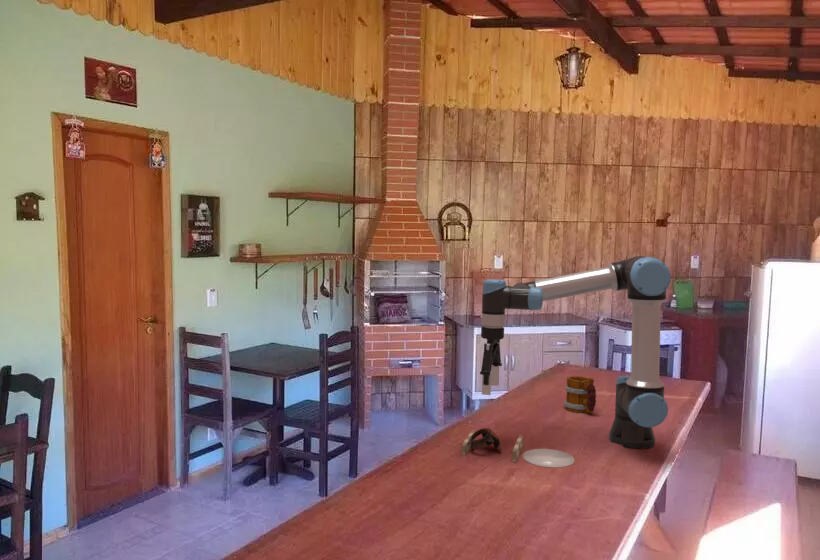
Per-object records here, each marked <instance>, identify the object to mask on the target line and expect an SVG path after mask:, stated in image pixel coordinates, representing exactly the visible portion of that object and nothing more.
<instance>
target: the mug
mask: <svg viewBox="0 0 820 560" xmlns="http://www.w3.org/2000/svg"><path fill="white" fill-rule="evenodd" d="M594 381H595V380H594V377H586V376H585V377H584V376H580V375H579V376H578V375H575V376H574V375H573V376H567V377H566V386H565V388H564V389H565V391H566V397H565V398H566V399H565V400H564V402H563V405H564V407H565V408H564V409H565V411H569V412H571V413H577V414H586V413H587V414H590V415H591V414H592V413H593V411H594V409H595V407H596V404H597V391H596V387H595V385H594Z"/></svg>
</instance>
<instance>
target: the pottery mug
mask: <svg viewBox="0 0 820 560" xmlns="http://www.w3.org/2000/svg"><path fill="white" fill-rule="evenodd" d="M480 435H481V438H480V439H476V438H477V437H478V436H480ZM471 437H472V438H471V439H470V441H471V447H470V449H471V451H474V449H480V448H483V447H484V448H487V445H488V446H491V445H493V449H498V451H499V453H500V454H501V453H502V450H503V449H502V446H501V441H500V439H499V437H498V435H497V434H496V433H494V432H493V431H492V429H490V428H489V427H483V428H480V429H478V430H475V433H473V434H472V436H471ZM474 439H475V440H474Z"/></svg>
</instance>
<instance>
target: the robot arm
mask: <svg viewBox="0 0 820 560" xmlns="http://www.w3.org/2000/svg"><path fill="white" fill-rule="evenodd" d="M671 279H672V273H671V271H670V268H669V267H668V265H667V264H666V263H665V262H663V261H661V260H660V259H658V258H656V257H652V256H644V255H643V256H642V255H637V256H633V257H629V258H627V259H623V260H620V261H615V262H611V263H608V265H607V266H606V267H601V268H600V267H599V268H595V269H590V270H586V271H580V272H574V273H573V272H572V273H569V274H564V275H558V276H553V277H548V278H542V279H538V280H534V281H533V280H532V281H527V282H518V283H515V284H514V285H513V286H510V285H507V282H506V280H505V279H498V278H494V279H492V278H489V279H485V280H484V281H483V283H482V284H483V285H482V293H481V294H482V298H481V299H482V300H481V301H482V302H481V315H480V316H479V318H480V319H481V325H482V327H481V329H480V336H481V338H482V339H483V340H484V339H486V343H483V355H482V362H481V363H482V364H481V370H480V371H479V375H482V376H481V377H482V378H481V395H486V396H491V393H492V392H491V389H492V388H491V387H492V386H496V387H497V386H499V385H500V367H502V365H503V363H502V360H501V347H500V346H501V344H500V342H501V340H503V339H504V338H505V328H504V326H505V325H506V324H505V321H506V309H507V310H523V311H524V310H528V311H538V310H539V311H540V310H541V309H542V307H543V302H546V301H551V300H557V299H563V298H568V297H573V296H579V295H584V294H585V295H586V294H590V293H596V292H602V291H607V290H612V291H615V292H617V291H618V292H619V291H621V290H622V291H623V290H624V291H625V290H626V291H627V300H628V301H629V302H630V303H631V350H630V351H631V352H630V353H631V359H630V360H631V361H630V364H631V365H630V375H619V376H617V378H616V382H615V405H614V407H615V408H614V409H615V410H614V419H613V423H612V425H611V427H610V430H609V431H608V432H609V433H608V439H609V441H610V443H614V444H617V445H620V446H622V447H624V448H629V449H630V448H631V449H638V450H640V449H649V448H650V449H651V448H653V447H655V445H656V436H655V433H654V429H653V428H654V427H657V426H659V425H661V424H662V423H663V422H664V421H665V420H666V419H667V416H668V414H669V406H668V403H667V400H666V399H665V383H664V382H663V381H662V380H661V379H660V362H661V361H660V358H661V357H660V356H661V355H660V354H661V318H662V317H661V313H662V312H661V310H662V309H661V308H662V304H663V303H665V302H666V300H667V290H668V288H669V287H670V284H671V281H672V280H671Z"/></svg>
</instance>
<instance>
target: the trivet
mask: <svg viewBox="0 0 820 560" xmlns="http://www.w3.org/2000/svg"><path fill="white" fill-rule="evenodd" d="M522 458H523V460H524V461H525V462H527V463H529V464H531V465H534V466H537V467H543V468H553V469H558V468H566V467H570V466H571V465H574V463H575V457H573V456H572V455H571V454H570V453H567V452H565V451H563V450H562V451H561V450H559V449H558V450H556V449H552V448H551V449H550V448H534V449H529V450H527V451H525V452H523V454H522Z"/></svg>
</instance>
